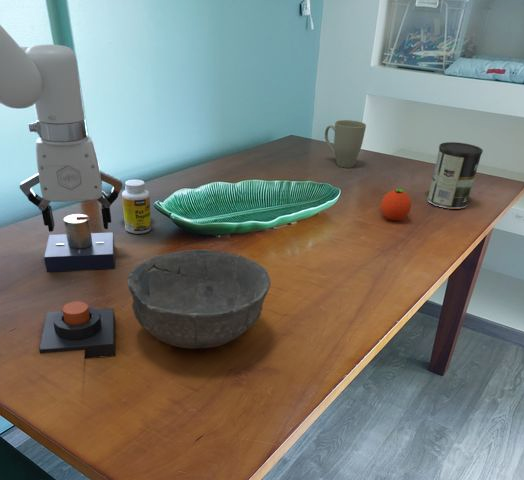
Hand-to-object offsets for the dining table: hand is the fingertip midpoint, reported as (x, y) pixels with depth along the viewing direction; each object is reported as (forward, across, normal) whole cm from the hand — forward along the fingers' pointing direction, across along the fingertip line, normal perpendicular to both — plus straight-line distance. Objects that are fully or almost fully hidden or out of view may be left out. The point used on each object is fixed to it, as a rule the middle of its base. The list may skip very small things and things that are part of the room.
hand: (79, 227), depth 99 cm
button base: (+6, +1, -28) cm, 29 cm away
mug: (+7, +73, +57) cm, 93 cm away
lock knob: (+3, 0, 0) cm, 3 cm away
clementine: (+7, +71, +14) cm, 72 cm away
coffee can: (+7, +90, +23) cm, 93 cm away
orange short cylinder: (+2, +1, -28) cm, 28 cm away
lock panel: (+6, 0, 0) cm, 6 cm away
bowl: (+6, +19, -29) cm, 35 cm away
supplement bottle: (+7, +11, +13) cm, 18 cm away
